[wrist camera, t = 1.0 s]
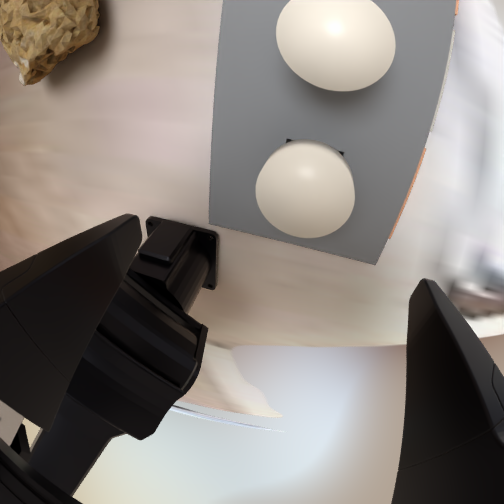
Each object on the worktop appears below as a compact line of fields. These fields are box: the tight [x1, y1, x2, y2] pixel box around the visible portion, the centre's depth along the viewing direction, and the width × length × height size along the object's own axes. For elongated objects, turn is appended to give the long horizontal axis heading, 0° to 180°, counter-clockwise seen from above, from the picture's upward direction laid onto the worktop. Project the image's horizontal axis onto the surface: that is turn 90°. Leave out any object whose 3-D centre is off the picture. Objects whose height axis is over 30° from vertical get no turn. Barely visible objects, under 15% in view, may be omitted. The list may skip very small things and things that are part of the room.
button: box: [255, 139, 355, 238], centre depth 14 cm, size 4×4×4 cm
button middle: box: [276, 0, 396, 91], centre depth 9 cm, size 4×4×4 cm
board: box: [209, 0, 459, 265], centre depth 11 cm, size 24×11×3 cm, turn 174°
